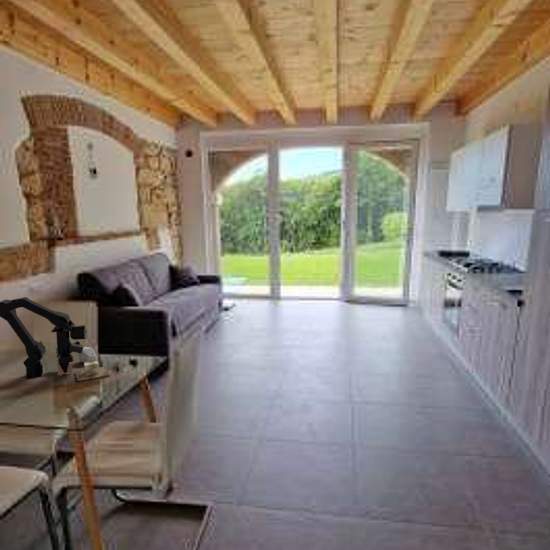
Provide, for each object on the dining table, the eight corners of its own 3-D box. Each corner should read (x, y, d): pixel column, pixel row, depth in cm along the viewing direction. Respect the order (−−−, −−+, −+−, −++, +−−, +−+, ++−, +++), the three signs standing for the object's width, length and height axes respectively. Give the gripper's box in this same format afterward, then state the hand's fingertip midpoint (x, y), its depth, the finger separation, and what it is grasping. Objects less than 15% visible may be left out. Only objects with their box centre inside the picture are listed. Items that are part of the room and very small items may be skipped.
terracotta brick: (58, 375, 197) (58, 365, 196) (58, 372, 201) (57, 363, 200) (72, 373, 200) (71, 363, 200) (71, 370, 204) (71, 361, 203)
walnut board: (77, 381, 191) (77, 380, 190) (74, 373, 201) (74, 371, 201) (109, 376, 198) (109, 374, 198) (105, 368, 208) (105, 366, 208)
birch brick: (85, 375, 196) (85, 365, 195) (84, 372, 199) (84, 362, 199) (99, 373, 199) (98, 363, 198) (97, 370, 202) (97, 360, 202)
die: (78, 367, 210) (90, 353, 209) (70, 356, 213) (81, 341, 213) (91, 368, 217) (102, 354, 216) (83, 357, 221) (94, 343, 220)
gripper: (84, 343, 194) (85, 374, 196) (79, 332, 210) (81, 362, 212) (57, 346, 188) (59, 379, 191) (54, 335, 204) (56, 365, 207)
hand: (65, 371), depth 200 cm, fingers closed on terracotta brick, 4 cm apart
